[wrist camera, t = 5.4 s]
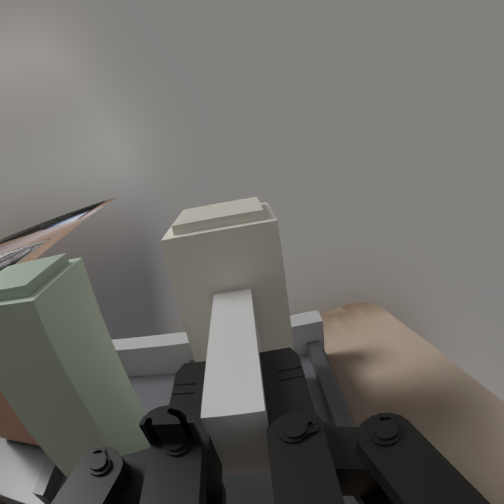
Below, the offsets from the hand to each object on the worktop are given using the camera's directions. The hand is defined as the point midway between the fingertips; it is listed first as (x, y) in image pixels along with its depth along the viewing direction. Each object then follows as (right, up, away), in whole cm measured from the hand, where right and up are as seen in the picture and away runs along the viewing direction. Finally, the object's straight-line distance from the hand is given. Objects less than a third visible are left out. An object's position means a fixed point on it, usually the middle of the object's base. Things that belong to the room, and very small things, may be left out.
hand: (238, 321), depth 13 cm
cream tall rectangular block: (+1, -6, +4) cm, 8 cm away
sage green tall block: (-7, -9, 0) cm, 11 cm away
